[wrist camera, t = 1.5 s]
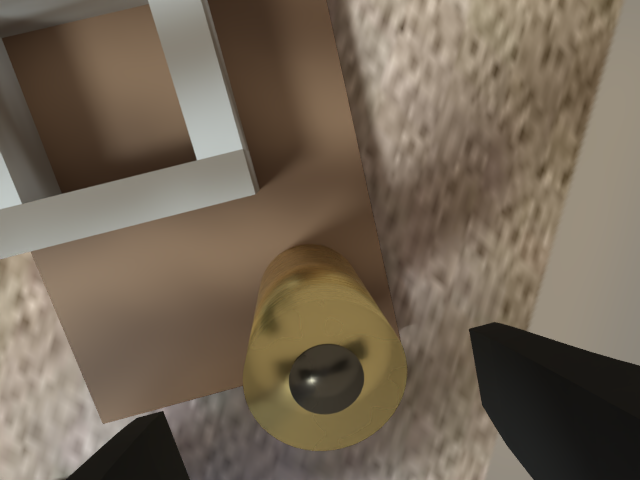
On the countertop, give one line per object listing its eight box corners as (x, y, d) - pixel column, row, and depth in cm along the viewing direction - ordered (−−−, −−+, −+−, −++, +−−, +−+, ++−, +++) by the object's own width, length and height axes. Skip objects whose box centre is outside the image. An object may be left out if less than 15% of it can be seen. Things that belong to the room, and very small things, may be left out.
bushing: (368, 324, 18) (422, 428, 11) (274, 350, 18) (268, 472, 11) (346, 232, 17) (390, 282, 10) (247, 258, 17) (221, 327, 10)
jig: (394, 333, 19) (419, 370, 16) (112, 410, 18) (73, 466, 15) (304, -79, 15) (310, -149, 12) (-55, 2, 15) (-157, -46, 11)
